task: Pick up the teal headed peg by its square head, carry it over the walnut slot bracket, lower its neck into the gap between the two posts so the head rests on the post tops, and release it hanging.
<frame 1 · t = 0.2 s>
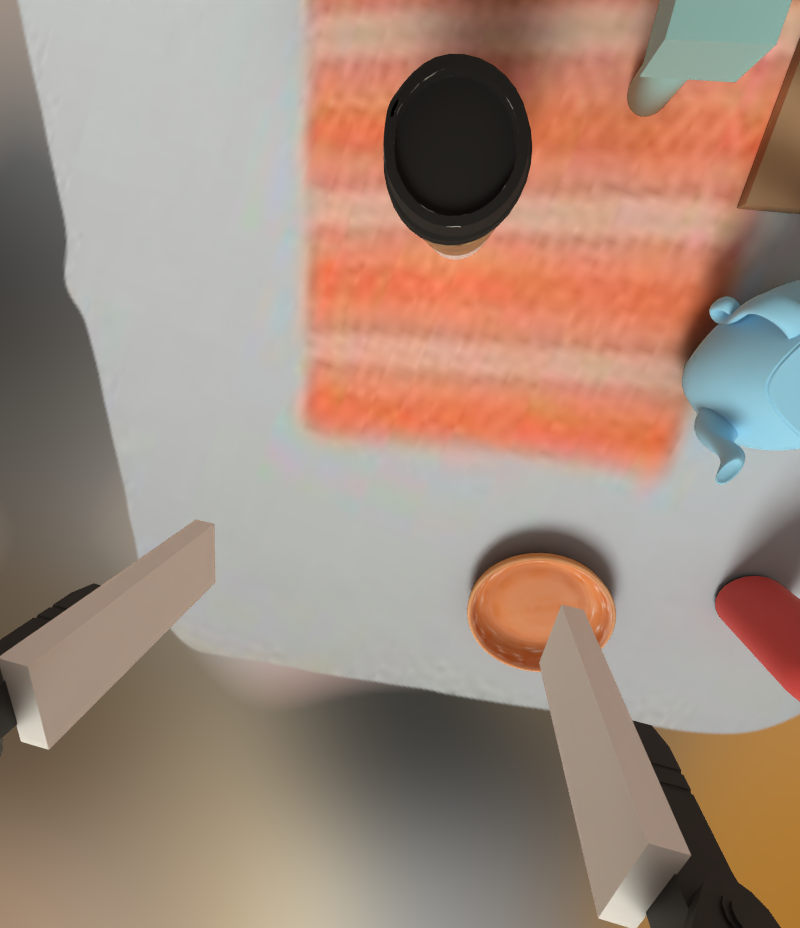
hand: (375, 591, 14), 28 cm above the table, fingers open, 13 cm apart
coffee cup: (458, 223, 34), on the table
saucer: (534, 600, 45), on the table
teapot: (749, 370, 34), on the table
peg: (650, 90, 29), on the table
beer can: (745, 597, 41), on the table
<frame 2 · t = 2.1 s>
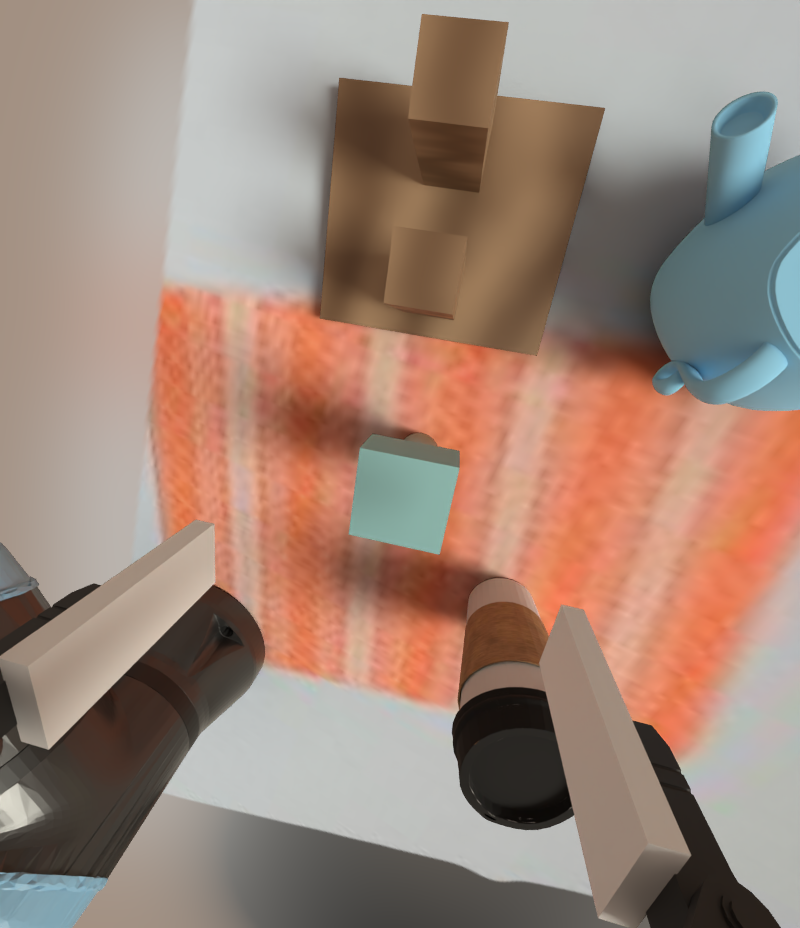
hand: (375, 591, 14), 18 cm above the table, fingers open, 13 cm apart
coffee cup: (500, 603, 35), on the table
teapot: (743, 292, 25), on the table
peg: (418, 451, 31), on the table
bracket: (445, 230, 26), on the table
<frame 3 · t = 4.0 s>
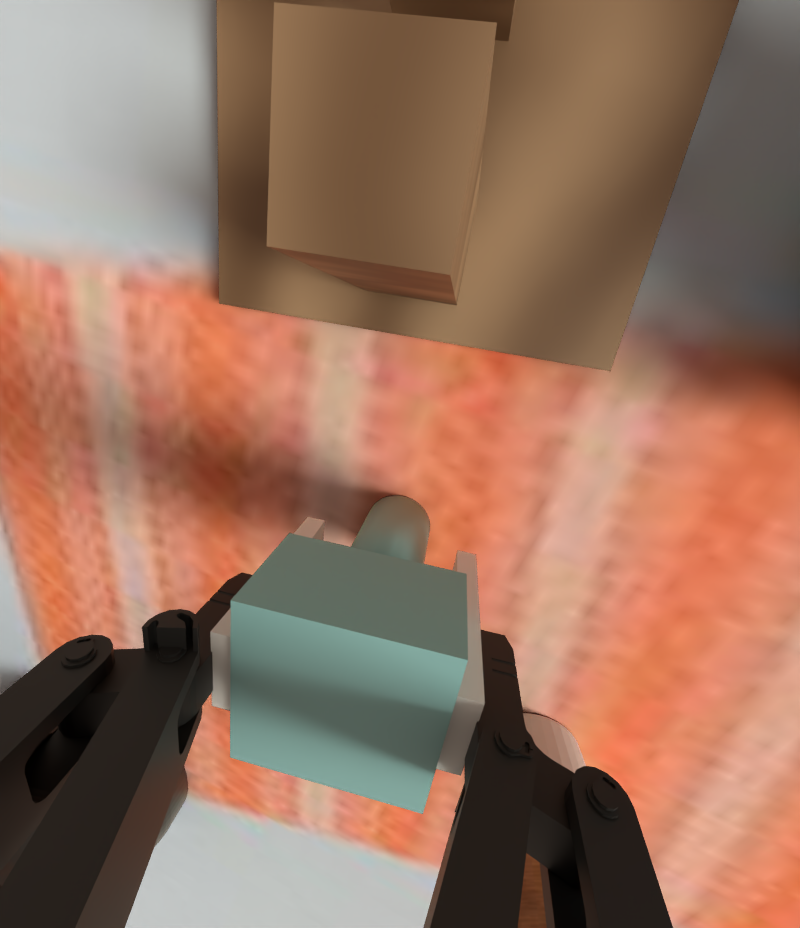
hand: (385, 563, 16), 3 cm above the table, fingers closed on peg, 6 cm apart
coffee cup: (526, 745, 23), on the table
peg: (398, 524, 19), on the table, touching gripper
bracket: (440, 133, 14), on the table
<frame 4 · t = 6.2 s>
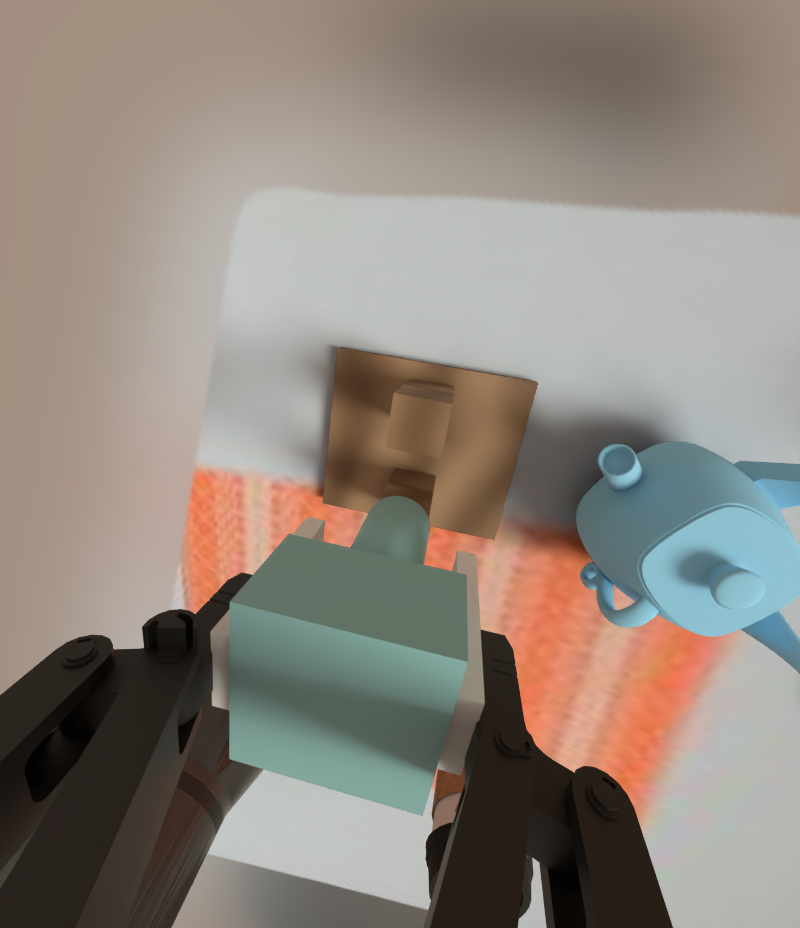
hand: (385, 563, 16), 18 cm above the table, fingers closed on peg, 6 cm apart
coffee cup: (472, 709, 42), on the table
teapot: (652, 501, 32), on the table
peg: (398, 525, 19), point 15 cm above the table, touching gripper
bracket: (421, 445, 33), on the table
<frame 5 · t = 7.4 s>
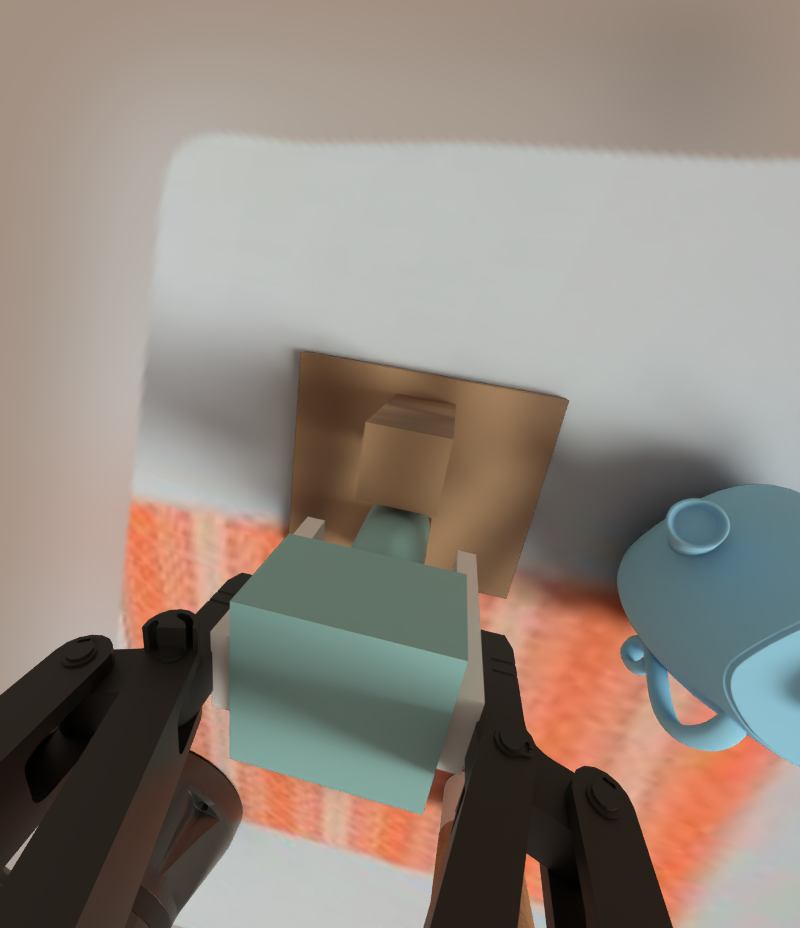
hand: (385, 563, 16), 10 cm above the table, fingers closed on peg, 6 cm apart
coffee cup: (476, 790, 35), on the table
teapot: (714, 554, 24), on the table
peg: (398, 524, 19), point 7 cm above the table, touching gripper
bracket: (412, 478, 25), on the table
when the fingers open (6 cm above the table, at t = 8.5 s): peg stays where it is, resting on bracket.
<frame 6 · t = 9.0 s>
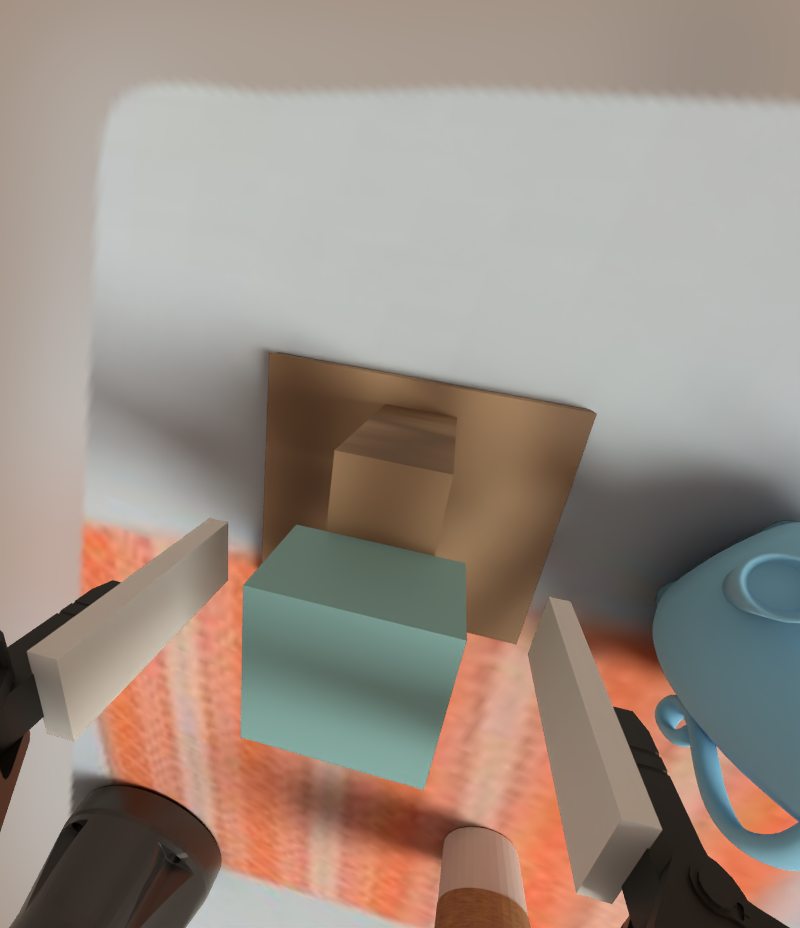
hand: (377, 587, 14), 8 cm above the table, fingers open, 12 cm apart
coffee cup: (479, 847, 31), on the table
teapot: (768, 596, 20), on the table
peg: (399, 519, 20), point 2 cm above the table, touching bracket
bracket: (405, 503, 21), on the table
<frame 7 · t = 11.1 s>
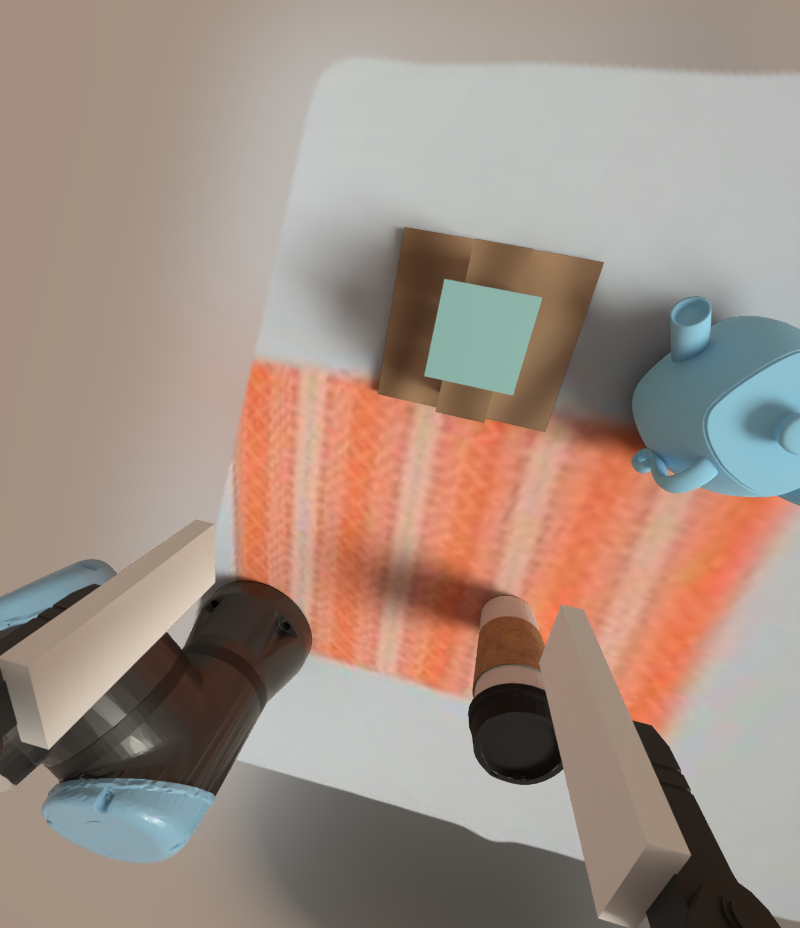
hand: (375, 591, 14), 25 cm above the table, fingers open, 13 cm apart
coffee cup: (507, 615, 43), on the table
teapot: (707, 394, 32), on the table
peg: (478, 335, 32), point 2 cm above the table, touching bracket
bracket: (478, 334, 34), on the table
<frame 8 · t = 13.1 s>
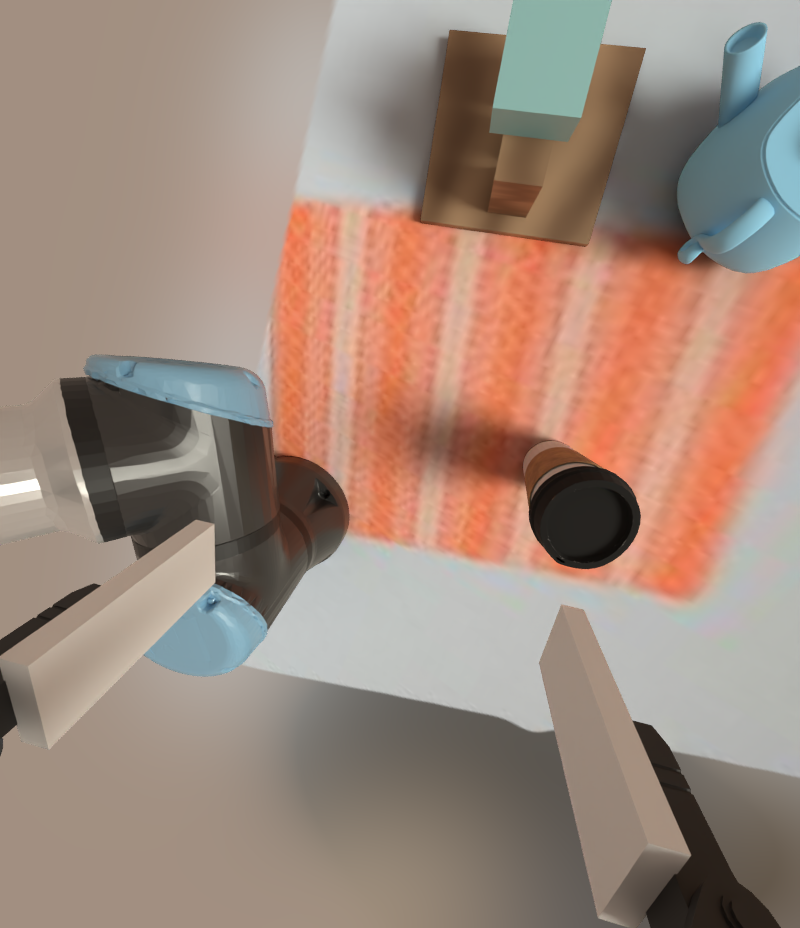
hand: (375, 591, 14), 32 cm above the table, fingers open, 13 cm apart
coffee cup: (548, 464, 44), on the table
teapot: (746, 190, 33), on the table
peg: (524, 137, 33), point 2 cm above the table, touching bracket
bracket: (520, 147, 34), on the table
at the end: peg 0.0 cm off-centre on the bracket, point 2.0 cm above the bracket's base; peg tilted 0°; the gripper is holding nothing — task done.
